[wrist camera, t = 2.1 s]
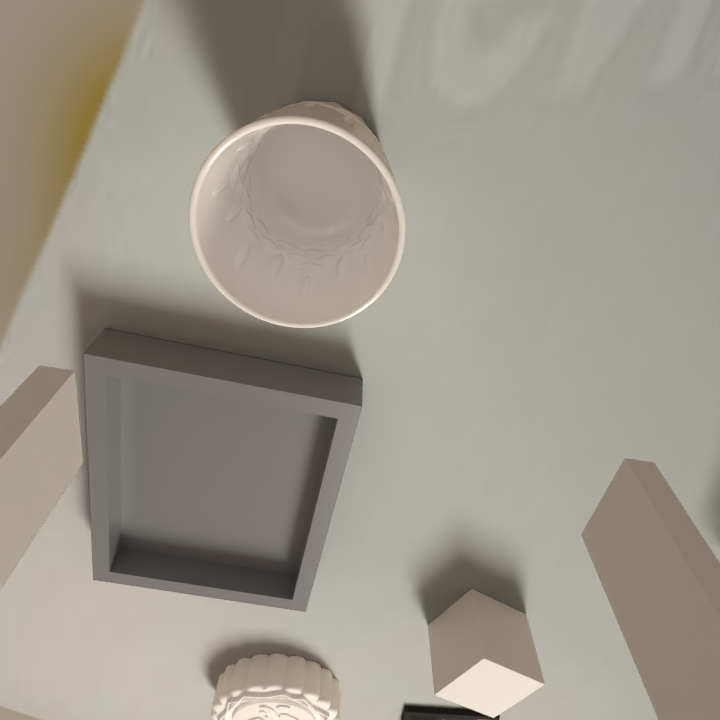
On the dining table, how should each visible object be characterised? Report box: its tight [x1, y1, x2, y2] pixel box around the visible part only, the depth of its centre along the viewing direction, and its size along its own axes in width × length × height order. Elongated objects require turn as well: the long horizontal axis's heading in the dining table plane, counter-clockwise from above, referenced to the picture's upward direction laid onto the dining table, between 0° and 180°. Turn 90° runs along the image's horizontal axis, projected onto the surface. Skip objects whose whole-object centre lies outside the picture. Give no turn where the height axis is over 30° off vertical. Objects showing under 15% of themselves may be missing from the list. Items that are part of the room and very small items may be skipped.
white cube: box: [428, 589, 545, 718], centre depth 46 cm, size 6×6×6 cm
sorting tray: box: [84, 329, 363, 612], centre depth 38 cm, size 20×16×3 cm
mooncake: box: [211, 653, 341, 720], centre depth 53 cm, size 12×12×4 cm
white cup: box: [189, 101, 406, 328], centre depth 25 cm, size 8×8×10 cm
